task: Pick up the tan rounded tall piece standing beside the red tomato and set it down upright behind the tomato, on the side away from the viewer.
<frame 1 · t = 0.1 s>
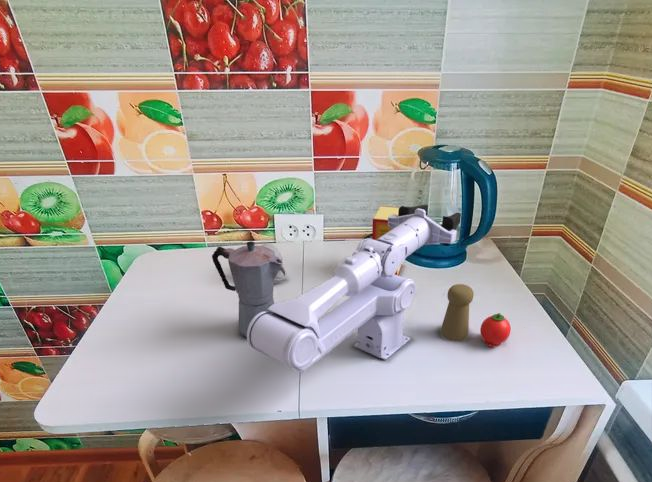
hand: (442, 213, 95), 22 cm above the table, tool horizontal, fingers open, 7 cm apart
moka pot: (257, 329, 102), on the table
tan rounded tall piece: (454, 333, 100), on the table
tomato: (492, 341, 98), on the table
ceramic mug: (268, 277, 121), on the table
baking soda box: (387, 273, 123), on the table
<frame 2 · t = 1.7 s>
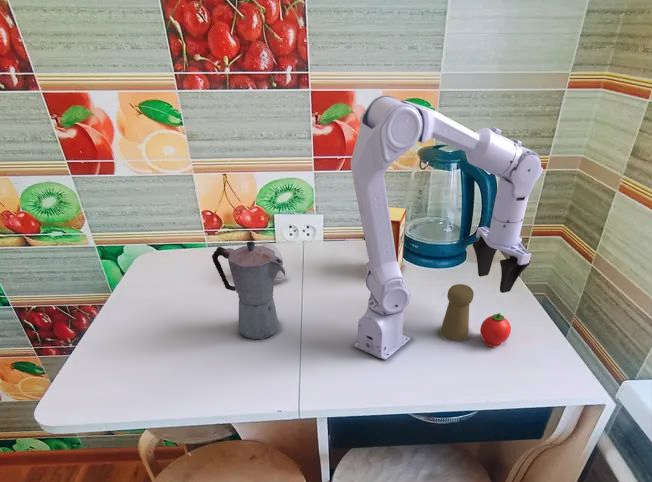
hand: (493, 283, 96), 10 cm above the table, tool pointing down, fingers open, 7 cm apart
nothing on the table moved.
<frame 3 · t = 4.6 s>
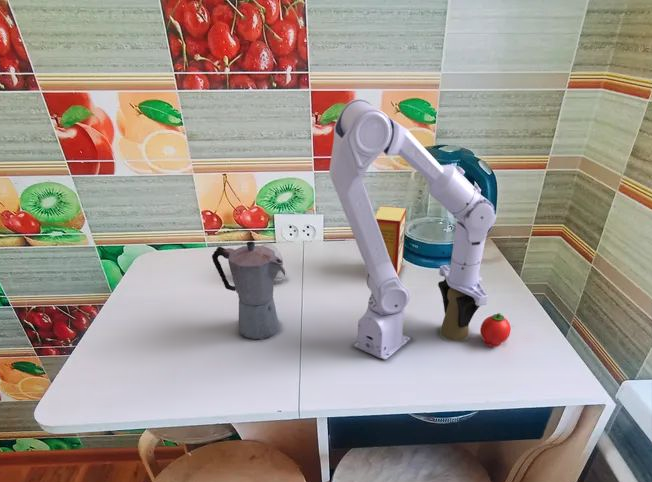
hand: (456, 319, 98), 3 cm above the table, tool pointing down, fingers closed on tan rounded tall piece, 5 cm apart
tan rounded tall piece: (454, 333, 100), on the table, touching gripper
everything else where it was.
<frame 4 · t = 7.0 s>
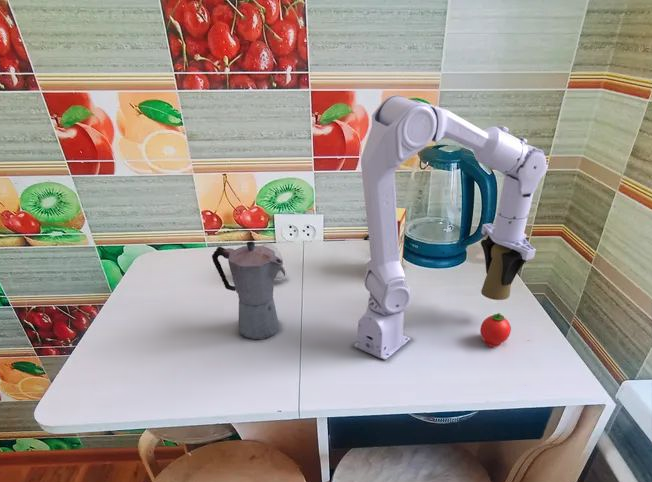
hand: (498, 278, 98), 10 cm above the table, tool pointing down, fingers closed on tan rounded tall piece, 5 cm apart
tan rounded tall piece: (495, 293, 100), point 7 cm above the table, touching gripper
everything else where it was.
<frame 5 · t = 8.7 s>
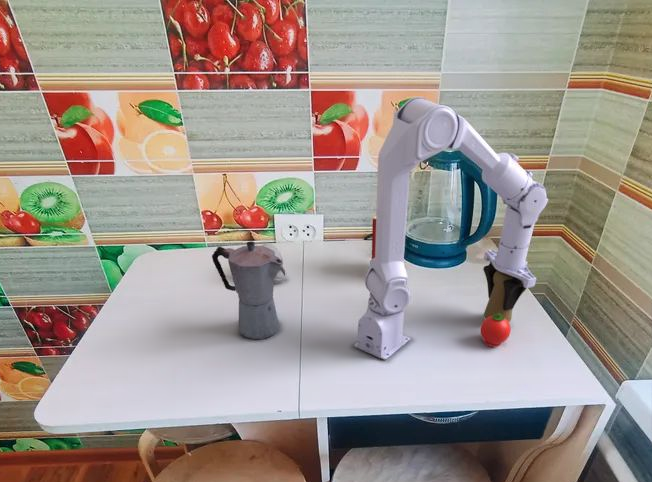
hand: (500, 303, 101), 5 cm above the table, tool pointing down, fingers closed on tan rounded tall piece, 5 cm apart
tan rounded tall piece: (497, 317, 103), point 1 cm above the table, touching gripper
everything else where it was.
when the fingers open (3 cm above the table, at t = 9.6 s): tan rounded tall piece stays where it is, on the table.
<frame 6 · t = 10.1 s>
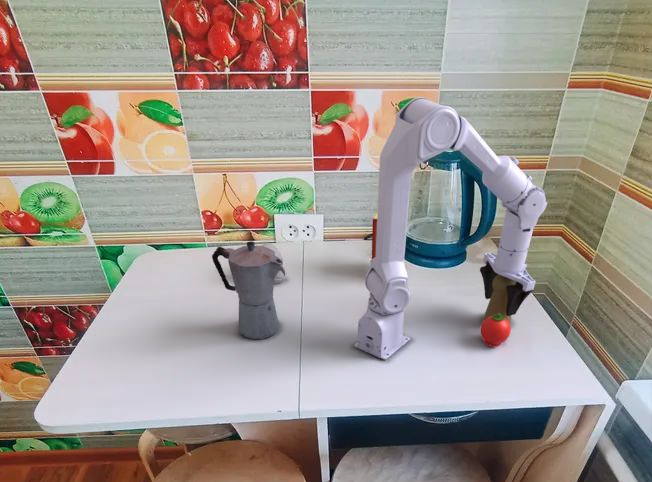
hand: (499, 305, 101), 4 cm above the table, tool pointing down, fingers open, 7 cm apart
tan rounded tall piece: (496, 322, 104), on the table
everything else where it was.
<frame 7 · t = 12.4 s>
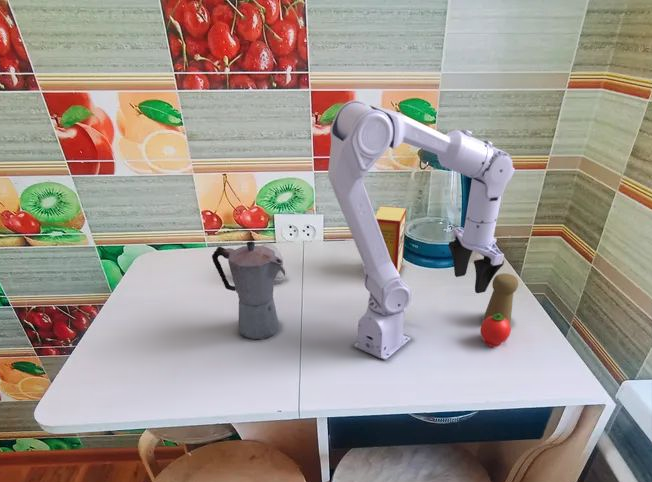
hand: (469, 283, 96), 10 cm above the table, tool pointing down, fingers open, 7 cm apart
nothing on the table moved.
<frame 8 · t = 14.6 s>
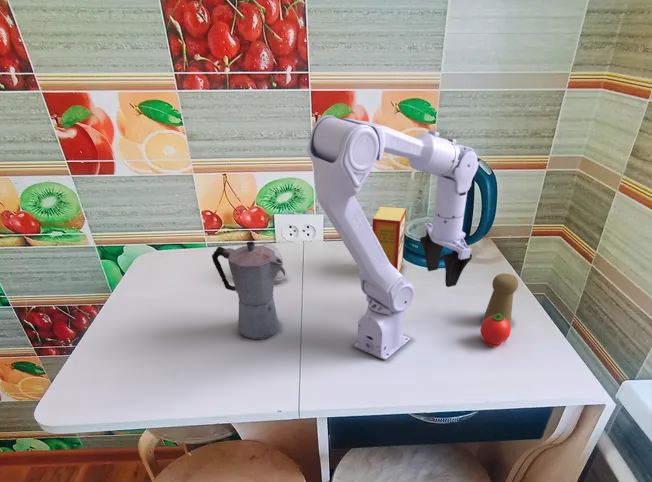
hand: (441, 277, 98), 10 cm above the table, tool pointing down, fingers open, 7 cm apart
nothing on the table moved.
at the end: tan rounded tall piece inside the target area on the table beside the tomato (0.9 cm from its centre), on the table; tan rounded tall piece tilted 0°; tomato moved 0.0 cm from its start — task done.
